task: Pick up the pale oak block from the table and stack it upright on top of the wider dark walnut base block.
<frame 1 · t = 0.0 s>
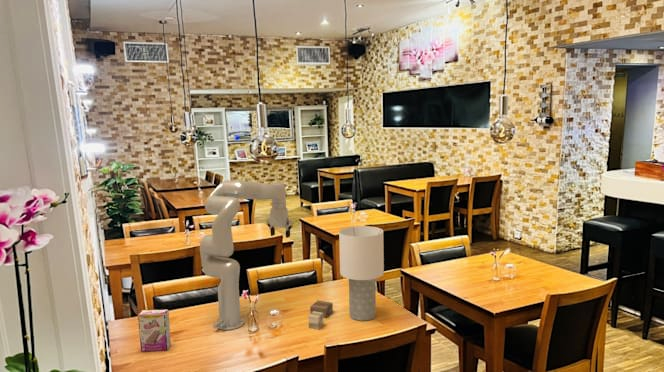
hand: (280, 236, 245), 31 cm above the table, fingers open, 9 cm apart
lamp: (362, 316, 215), on the table
oak block: (316, 326, 205), on the table
candy bar box: (156, 349, 188), on the table
walnut base: (321, 314, 218), on the table
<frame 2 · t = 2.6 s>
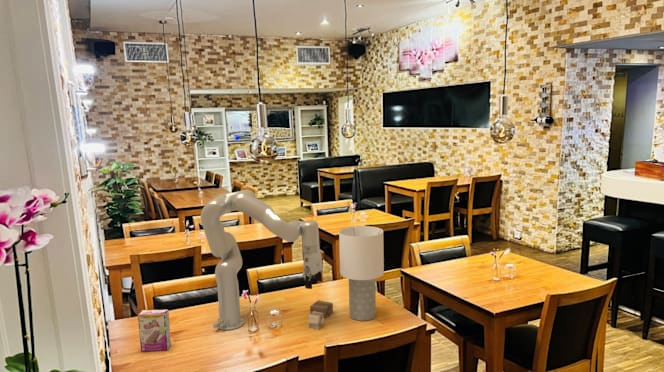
hand: (313, 284, 204), 19 cm above the table, fingers open, 9 cm apart
nothing on the table moved.
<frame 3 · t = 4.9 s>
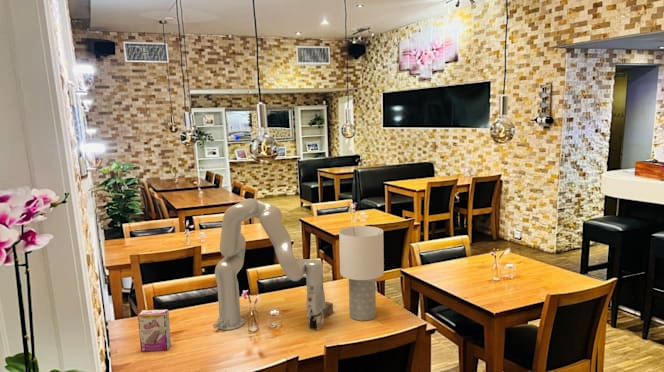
hand: (316, 325, 205), 1 cm above the table, fingers closed on oak block, 5 cm apart
oak block: (316, 326, 205), on the table, touching gripper
everything else where it was.
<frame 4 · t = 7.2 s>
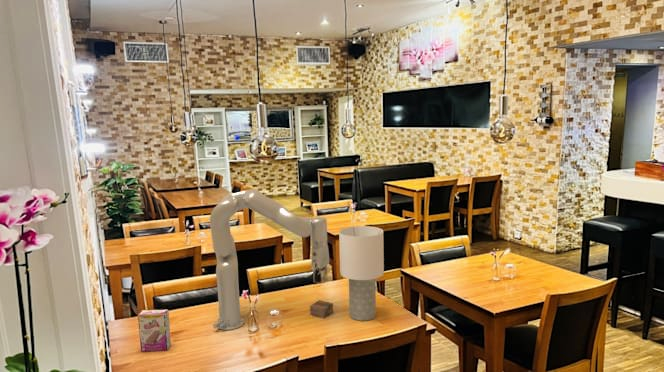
hand: (320, 279, 215), 17 cm above the table, fingers closed on oak block, 5 cm apart
oak block: (320, 281, 215), point 17 cm above the table, touching gripper
everything else where it was.
when the fingers open (7 cm above the table, at t = 9.6 s): oak block drops 1 cm, point 5 cm above the table.
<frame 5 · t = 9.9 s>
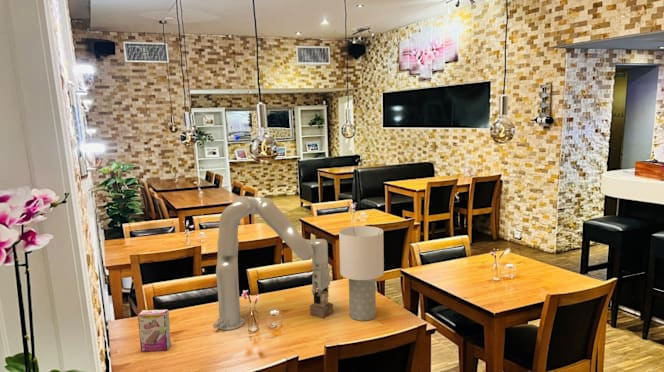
hand: (321, 299, 217), 7 cm above the table, fingers open, 7 cm apart
oak block: (321, 304, 217), point 5 cm above the table
everything else where it was.
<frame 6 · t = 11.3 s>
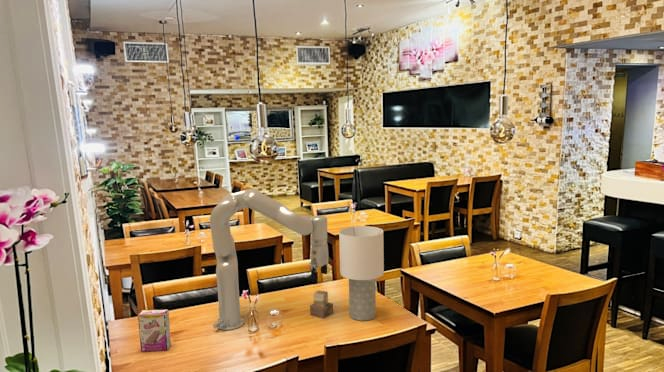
hand: (319, 276, 215), 19 cm above the table, fingers open, 9 cm apart
nothing on the table moved.
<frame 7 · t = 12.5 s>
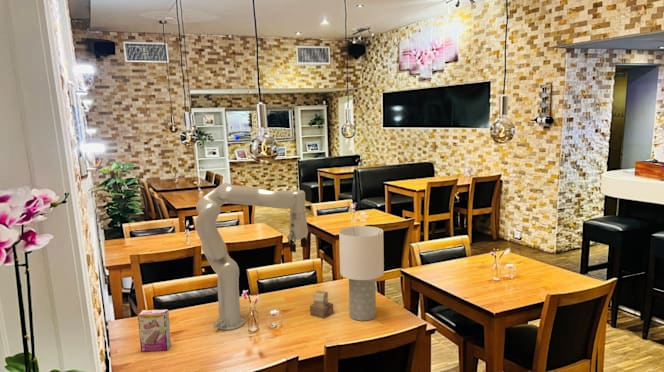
hand: (298, 249, 222), 30 cm above the table, fingers open, 9 cm apart
oak block: (321, 304, 218), point 5 cm above the table, touching walnut base
walnut base: (321, 314, 218), on the table, touching oak block
everything else where it was.
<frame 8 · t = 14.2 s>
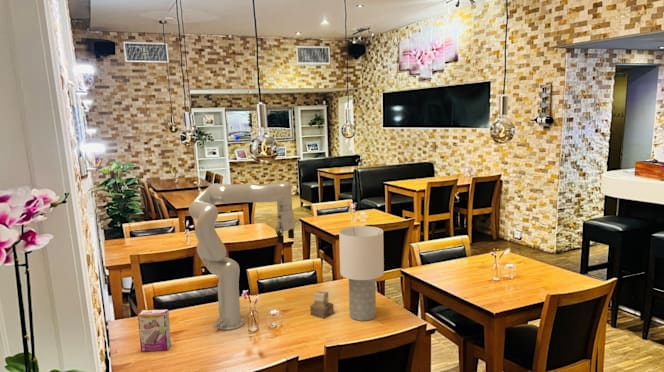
hand: (286, 240, 228), 33 cm above the table, fingers open, 9 cm apart
nothing on the table moved.
at the end: oak block inside the target area on the walnut base (0.2 cm from its centre), point 5.0 cm above the walnut base's base; oak block tilted 0°; the gripper is holding nothing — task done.
